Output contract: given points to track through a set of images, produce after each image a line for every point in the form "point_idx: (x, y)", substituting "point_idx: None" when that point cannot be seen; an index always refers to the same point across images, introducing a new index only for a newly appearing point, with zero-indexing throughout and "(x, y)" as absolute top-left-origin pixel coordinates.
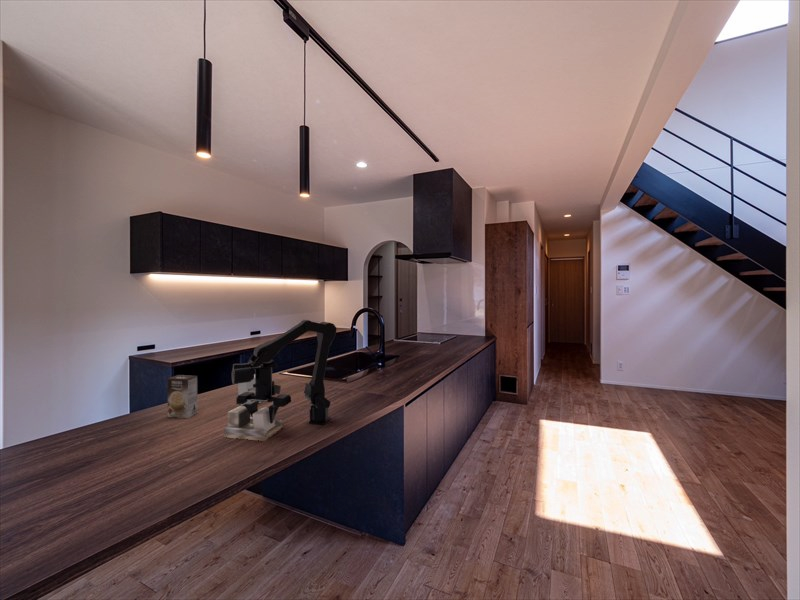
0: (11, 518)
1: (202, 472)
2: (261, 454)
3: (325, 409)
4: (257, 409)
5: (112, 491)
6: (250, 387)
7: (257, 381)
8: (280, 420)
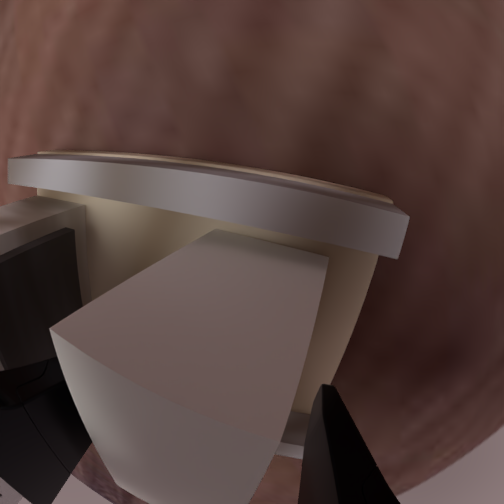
0: (72, 474)
1: None
2: None
3: None
4: (50, 393)
5: (104, 481)
6: None
7: None
8: (395, 246)
